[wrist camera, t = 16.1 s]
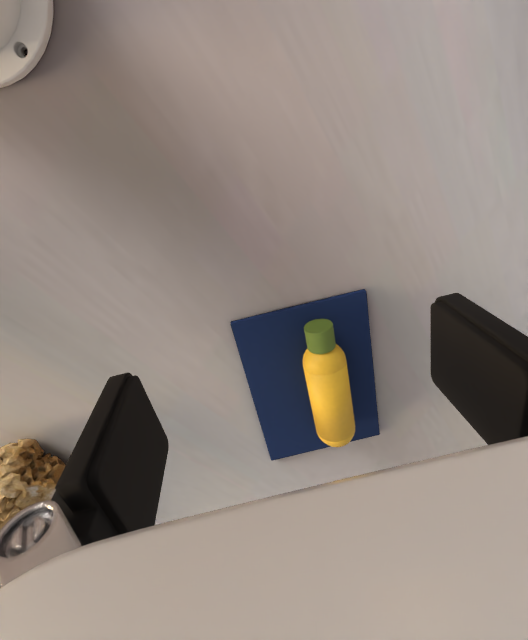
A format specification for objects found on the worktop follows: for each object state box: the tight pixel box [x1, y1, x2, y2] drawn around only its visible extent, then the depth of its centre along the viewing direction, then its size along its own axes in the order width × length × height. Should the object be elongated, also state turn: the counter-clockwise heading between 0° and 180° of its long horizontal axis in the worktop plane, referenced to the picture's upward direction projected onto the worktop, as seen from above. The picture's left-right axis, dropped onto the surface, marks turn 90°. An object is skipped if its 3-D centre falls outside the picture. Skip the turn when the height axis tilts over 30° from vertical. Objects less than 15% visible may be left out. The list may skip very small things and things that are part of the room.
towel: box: [231, 289, 380, 460], centre depth 40 cm, size 14×20×1 cm
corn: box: [303, 319, 355, 447], centre depth 38 cm, size 16×4×4 cm
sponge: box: [0, 439, 66, 529], centre depth 40 cm, size 13×8×20 cm
